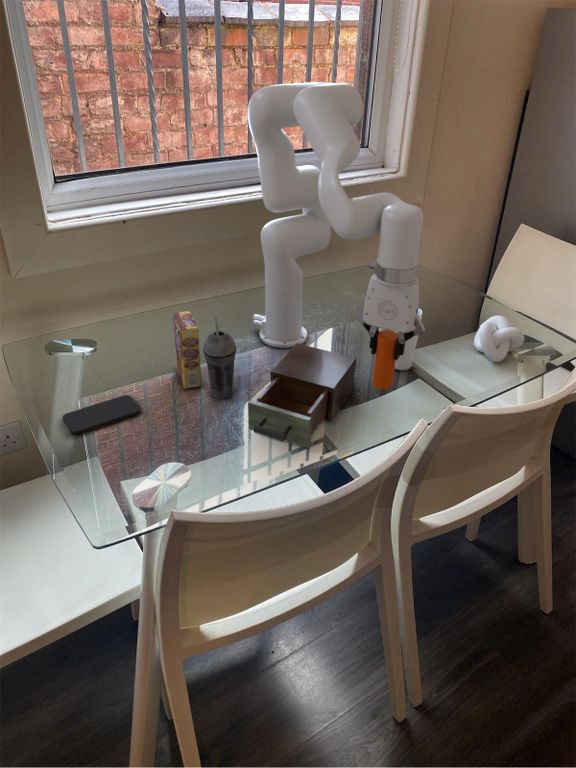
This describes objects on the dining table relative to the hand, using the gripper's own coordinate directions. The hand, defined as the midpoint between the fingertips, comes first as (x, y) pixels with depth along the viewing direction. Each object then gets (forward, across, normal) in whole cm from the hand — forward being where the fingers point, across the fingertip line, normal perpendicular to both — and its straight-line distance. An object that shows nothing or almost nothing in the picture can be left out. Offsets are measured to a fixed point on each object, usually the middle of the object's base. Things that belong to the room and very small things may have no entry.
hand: (386, 353), depth 125 cm
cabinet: (+14, -15, -2) cm, 21 cm away
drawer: (+14, -15, -16) cm, 26 cm away
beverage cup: (+15, -34, -10) cm, 38 cm away
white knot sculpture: (+15, +18, +37) cm, 44 cm away
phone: (+14, -53, -29) cm, 62 cm away
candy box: (+15, -44, -8) cm, 47 cm away
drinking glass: (+15, -1, +20) cm, 25 cm away
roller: (+8, 0, 0) cm, 8 cm away
